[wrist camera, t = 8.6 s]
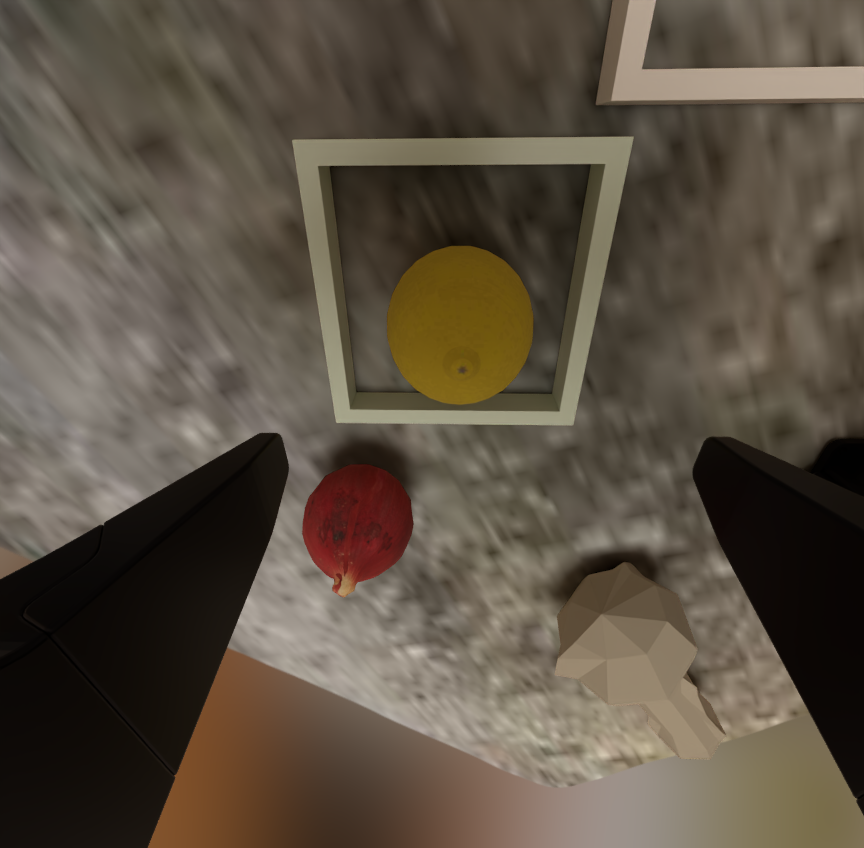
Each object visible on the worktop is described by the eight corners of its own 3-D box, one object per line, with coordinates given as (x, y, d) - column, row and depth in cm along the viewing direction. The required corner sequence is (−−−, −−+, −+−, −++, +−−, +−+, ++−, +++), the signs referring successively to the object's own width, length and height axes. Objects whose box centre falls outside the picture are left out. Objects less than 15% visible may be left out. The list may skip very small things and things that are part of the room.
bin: (616, 137, 16) (634, 136, 15) (564, 406, 23) (573, 425, 21) (306, 140, 16) (291, 139, 15) (343, 404, 23) (336, 422, 22)
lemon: (397, 346, 21) (374, 438, 14) (398, 225, 18) (369, 270, 11) (507, 353, 21) (535, 448, 14) (527, 234, 18) (573, 283, 11)
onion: (312, 438, 24) (261, 548, 18) (411, 434, 24) (397, 544, 17) (333, 511, 28) (297, 628, 21) (421, 508, 27) (412, 626, 20)
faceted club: (666, 531, 27) (738, 685, 39) (538, 546, 31) (639, 679, 43) (694, 688, 20) (770, 812, 33) (530, 678, 25) (650, 790, 37)
